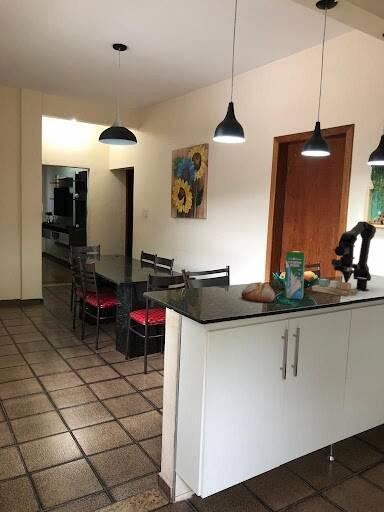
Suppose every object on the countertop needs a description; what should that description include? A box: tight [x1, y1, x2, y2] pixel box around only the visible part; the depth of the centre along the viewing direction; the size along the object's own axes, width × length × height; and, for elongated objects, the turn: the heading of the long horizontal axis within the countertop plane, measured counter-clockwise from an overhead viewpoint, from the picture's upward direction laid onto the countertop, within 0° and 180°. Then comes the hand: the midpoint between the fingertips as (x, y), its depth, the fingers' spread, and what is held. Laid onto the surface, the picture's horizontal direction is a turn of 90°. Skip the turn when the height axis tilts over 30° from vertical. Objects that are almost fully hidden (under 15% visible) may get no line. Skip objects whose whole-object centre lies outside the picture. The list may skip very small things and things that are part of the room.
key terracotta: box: [340, 281, 352, 290], centre depth 233 cm, size 4×4×4 cm
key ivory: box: [329, 279, 341, 288], centre depth 238 cm, size 4×4×4 cm
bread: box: [241, 281, 276, 303], centre depth 213 cm, size 16×20×10 cm
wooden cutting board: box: [311, 284, 359, 297], centre depth 238 cm, size 12×22×2 cm, turn 41°
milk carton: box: [283, 250, 306, 300], centre depth 219 cm, size 9×9×25 cm
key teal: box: [318, 278, 330, 286], centre depth 243 cm, size 4×4×4 cm
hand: (346, 282), depth 232 cm, fingers closed
